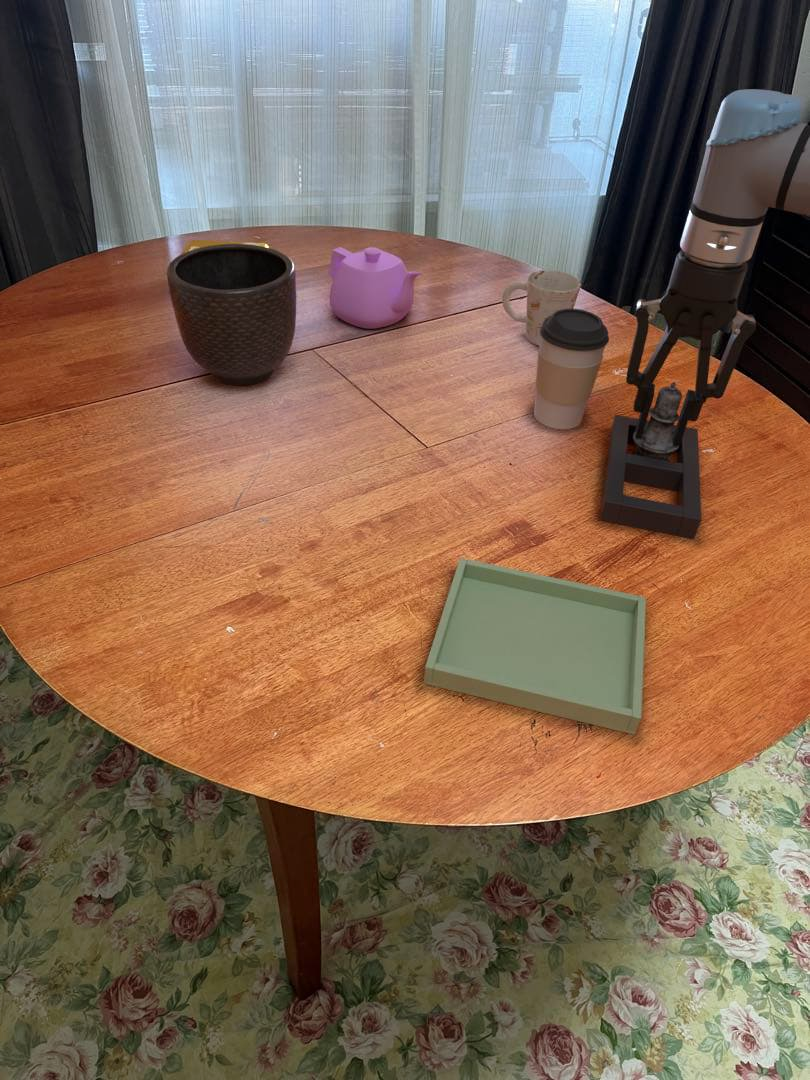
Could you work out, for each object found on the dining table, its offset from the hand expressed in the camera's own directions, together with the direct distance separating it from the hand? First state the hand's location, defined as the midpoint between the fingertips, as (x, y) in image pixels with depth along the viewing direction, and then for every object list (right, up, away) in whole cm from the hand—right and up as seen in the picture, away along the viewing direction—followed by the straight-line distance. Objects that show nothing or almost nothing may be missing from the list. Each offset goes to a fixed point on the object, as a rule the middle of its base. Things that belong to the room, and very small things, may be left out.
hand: (657, 436), depth 98 cm
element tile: (-65, +34, +41) cm, 84 cm away
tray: (-19, -24, -22) cm, 38 cm away
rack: (-1, -6, -1) cm, 6 cm away
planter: (-57, +12, +16) cm, 60 cm away
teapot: (-38, +25, +32) cm, 56 cm away
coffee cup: (-11, +4, +11) cm, 16 cm away
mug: (-11, +21, +29) cm, 38 cm away
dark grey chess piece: (0, -3, +3) cm, 4 cm away
